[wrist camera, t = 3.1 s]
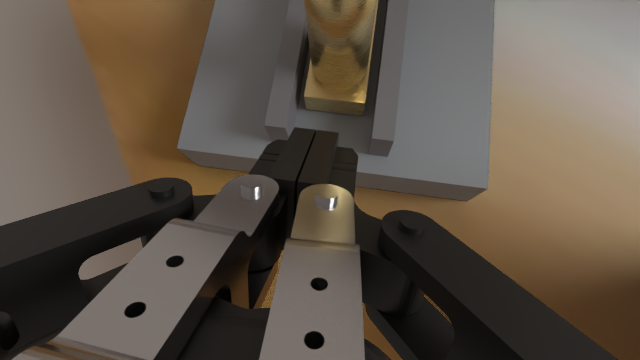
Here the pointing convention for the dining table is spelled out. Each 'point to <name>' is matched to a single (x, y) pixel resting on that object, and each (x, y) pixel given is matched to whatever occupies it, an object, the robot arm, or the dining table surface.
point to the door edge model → (381, 97)
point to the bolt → (339, 54)
